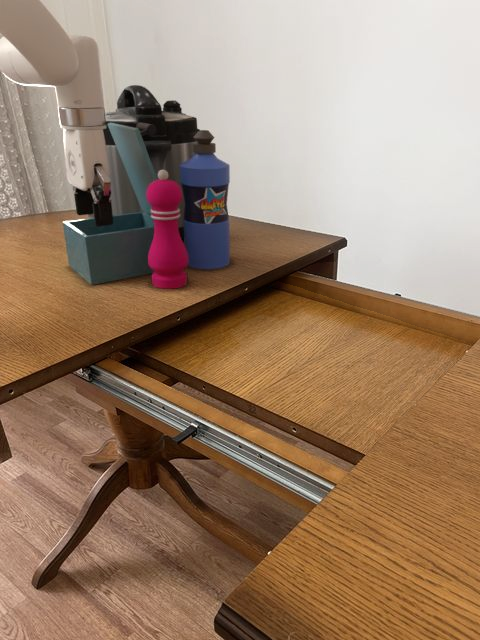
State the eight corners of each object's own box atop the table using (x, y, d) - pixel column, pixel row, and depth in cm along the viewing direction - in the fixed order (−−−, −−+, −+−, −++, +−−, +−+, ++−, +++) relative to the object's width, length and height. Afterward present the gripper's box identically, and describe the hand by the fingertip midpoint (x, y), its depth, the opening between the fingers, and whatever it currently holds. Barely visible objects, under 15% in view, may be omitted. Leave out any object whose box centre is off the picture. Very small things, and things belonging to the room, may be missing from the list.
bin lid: (134, 130, 92) (161, 118, 94) (107, 124, 101) (132, 113, 103) (169, 223, 102) (193, 210, 104) (141, 210, 111) (164, 199, 113)
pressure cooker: (118, 213, 147) (104, 82, 132) (219, 220, 142) (217, 85, 127) (60, 244, 120) (34, 85, 106) (181, 253, 116) (172, 88, 101)
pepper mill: (195, 278, 102) (191, 167, 93) (180, 292, 96) (173, 174, 87) (160, 274, 104) (152, 165, 94) (142, 287, 97) (132, 171, 88)
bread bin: (91, 285, 98) (84, 237, 94) (69, 266, 107) (62, 221, 103) (174, 269, 107) (171, 224, 103) (147, 252, 116) (143, 211, 112)
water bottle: (237, 265, 109) (237, 132, 98) (194, 272, 105) (188, 133, 94) (219, 253, 117) (217, 127, 105) (178, 258, 113) (171, 128, 101)
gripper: (45, 116, 97) (59, 212, 104) (77, 123, 84) (91, 232, 92) (87, 115, 101) (97, 208, 108) (123, 122, 88) (132, 227, 96)
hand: (94, 219), depth 100 cm, fingers open, 9 cm apart
